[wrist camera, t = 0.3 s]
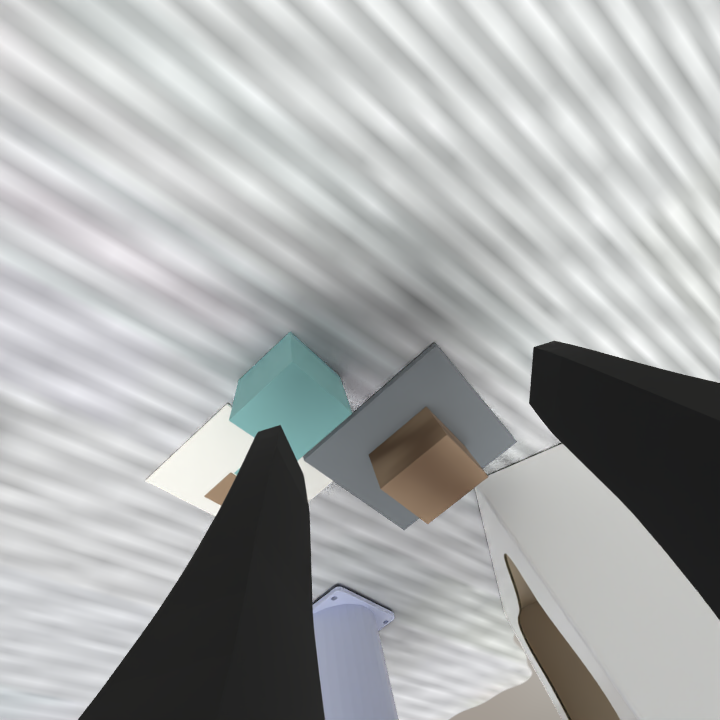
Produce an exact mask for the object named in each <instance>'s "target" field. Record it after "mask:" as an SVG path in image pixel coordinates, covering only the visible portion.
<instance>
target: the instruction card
mask: <svg viewBox="0 0 720 720" xmlns="http://www.w3.org/2000/svg"><path fill="white" fill-rule="evenodd" d="M231 410H232V406H231V405H229V404H228V403H227V404H226V405H225V406H224V407H223V408H222V409H221V410H220V411H219V412H217V413H216V414H215V415H214V416H213V417H212V418H211V419H210V420H209V421H208V422H207V423H206V424H205V425H204V426H203V427H201V428H200V429H199V430H198V431H197V432H196V433H195V434H194V435H193V436H192V437H191V438H190V439H189V440H188V441H186V442H185V443H184V444H183V445H182V446H181V447H180V448H179V449H178V450H177V451H176V452H175V453H174V454H173V455H172V456H170V457H169V458H168V459H167V460H166V461H165V462H164V463H163V464H162V465H161V466H160V467H159V468H158V469H157V470H156V471H154V472H153V473H152V474H151V475H150V476H149V477H148V478H147V479H146V482H148V483H150V484H152V485H154V486H156V487H158V488H160V489H162V490H164V491H166V492H168V493H170V494H172V495H174V496H176V497H178V498H180V499H182V500H184V501H186V502H188V503H190V504H192V505H194V506H196V507H198V508H200V509H202V510H204V511H206V512H208V513H210V514H212V515H214V516H215V517H216V515H217V513H218V511H219V509H220V507H221V505H222V503H223V501H224V499H225V498H226V496H227V494H228V492H229V490H230V488H231V486H232V484H233V482H234V480H235V478H236V476H237V474H238V472H239V470H240V467H241V465H242V463H243V461H244V459H245V457H246V455H247V453H248V451H249V448H250V446H251V444H252V442H253V440H254V437H253V436H251V435H250V434H248V433H247V432H245V431H244V430H242V429H241V428H239V427H238V426H236V425H235V424H233V423H232V422H230V421H229V418H230V414H231ZM298 463H299V466H300V468H301V470H302V472H303V474H304V479H305V485H306V492H307V499H308V502H309V501H310V500H312V499H313V498H314V497H315V496H316V495H318V494H319V493H320V492H321V491H322V490H323V489H325V488H326V487H327V486H328V485H329V484H331V483H332V482H333V480H331V479H330V478H328V477H327V476H325V475H324V474H322V473H321V472H320V471H318V470H317V469H315V468H314V467H312V466H311V465H309V464H308V463H307V462H305V461H304V458H303V457H301V458H300V459H299V460H298Z"/></svg>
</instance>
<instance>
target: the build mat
mask: <svg viewBox="0 0 720 720" xmlns="http://www.w3.org/2000/svg"><path fill="white" fill-rule="evenodd" d="M425 407H427V408H428V409H429V410H430V411H431V412H432V413H433V414H434V415H435V416H436V417H437V418H438V419H439V420H440V421H441V422H442V423H443V424H444V425H445V426H446V427H447V428H448V429H449V430H450V431H451V432H452V433H453V434H454V435H455V436H456V437H457V439H458V440H459V441H460V442H461V443H462V444H463V445H464V446H465V447H466V448H467V449H468V451H469V452H470V453H471V455H472V456H473V457H474V459H475V460H476V461H477V462H478V464H479V465H480V466H481V468H482V469H483V468H484V467H485V466H487V465H488V464H489V463H490V462H492V461H493V460H494V459H496V458H497V457H498V456H499V455H501V454H502V453H503V452H504V451H506V450H507V449H508V448H510V447H511V446H512V445H513V444H515V443H516V442H517V441H516V440H515V439H514V437H513V436H512V435H511V434H510V433H509V431H508V430H507V429H506V428H505V427H504V425H503V424H502V423H501V422H500V420H499V419H498V418H497V417H496V416H495V414H494V413H493V412H492V411H491V410H490V408H489V407H488V406H487V405H486V404H485V402H484V401H483V400H482V399H481V397H480V396H479V395H478V394H477V393H476V391H475V390H474V389H473V388H472V387H471V385H470V384H469V383H468V382H467V381H466V379H465V378H464V377H463V376H462V374H461V373H460V372H459V371H458V370H457V368H456V367H455V366H454V365H453V364H452V362H451V361H450V360H449V359H448V358H447V356H446V355H445V354H444V353H443V351H442V350H441V349H440V348H439V347H438V345H437V344H435V343H433V344H432V345H431V346H430V347H429V348H427V349H426V350H425V351H424V352H423V353H422V354H421V355H419V356H418V357H417V358H416V359H415V360H414V361H412V362H411V363H410V364H409V365H408V366H407V367H406V368H404V369H403V370H402V371H401V372H400V373H399V374H397V375H396V376H395V377H394V378H393V379H392V380H391V381H389V382H388V383H387V384H386V385H385V386H384V387H383V388H381V389H380V390H379V391H378V392H377V393H376V394H374V395H373V396H372V397H371V398H370V399H369V400H368V401H366V402H365V403H364V404H363V405H362V406H361V407H360V408H358V409H357V410H356V411H355V412H354V413H353V414H351V415H350V416H349V417H348V418H347V419H346V420H345V421H343V422H342V423H341V424H340V425H339V426H338V427H337V428H335V429H334V430H333V431H332V432H331V433H330V434H328V435H327V436H326V437H325V438H324V439H323V440H322V441H320V442H319V443H318V444H317V445H316V446H315V447H313V448H312V449H311V450H310V451H309V452H308V453H307V454H305V455H304V456H303V458H304V461H305V462H307V463H308V464H309V465H311V466H312V467H314V468H315V469H317V470H318V471H320V472H321V473H322V474H324V475H325V476H327V477H328V478H330V479H331V480H333V481H334V482H335V483H337V484H338V485H340V486H341V487H343V488H344V489H346V490H347V491H348V492H350V493H351V494H353V495H354V496H356V497H357V498H359V499H360V500H361V501H363V502H364V503H366V504H367V505H369V506H370V507H372V508H373V509H374V510H376V511H377V512H379V513H380V514H382V515H383V516H385V517H386V518H387V519H389V520H390V521H392V522H393V523H395V524H396V525H398V526H399V527H400V528H402V529H403V530H405V529H406V528H408V527H409V526H410V525H411V524H413V523H414V522H415V521H417V520H418V519H419V517H417V516H416V515H415V514H413V513H412V512H411V511H409V510H408V509H407V508H405V507H404V506H403V505H401V504H400V503H399V502H397V501H396V500H395V499H393V498H392V497H391V496H389V495H388V494H387V493H385V492H384V491H383V490H381V489H380V486H379V483H378V480H377V477H376V475H375V472H374V469H373V466H372V463H371V460H370V458H369V454H370V453H371V452H372V451H374V450H375V449H376V448H377V447H378V446H380V445H381V444H382V443H383V442H384V441H386V440H387V439H388V438H389V437H390V436H391V435H393V434H394V433H395V432H396V431H397V430H399V429H400V428H401V427H402V426H403V425H405V424H406V423H407V422H408V421H409V420H411V419H412V418H413V417H414V416H415V415H416V414H418V413H419V412H420V411H421V410H422V409H424V408H425Z"/></svg>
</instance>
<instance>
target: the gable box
mask: <svg viewBox="0 0 720 720" xmlns="http://www.w3.org/2000/svg"><path fill="white" fill-rule="evenodd" d="M475 491H476V496H477V500H478V504H479V508H480V513H481V517H482V521H483V525H484V530H485V534H486V538H487V542H488V546H489V551H490V555H491V559H492V563H493V568H494V572H495V576H496V580H497V585H498V589H499V593H500V597H501V601H502V606H503V610H504V614H505V616H506V618H507V620H508V622H509V624H510V626H511V627H512V629H513V631H514V633H515V635H516V636H517V638H518V640H519V642H520V644H521V646H522V647H523V649H524V651H525V653H526V655H527V657H528V658H529V660H530V662H531V664H532V666H533V667H534V669H535V671H536V673H537V675H538V677H539V679H540V680H541V682H542V684H543V686H544V688H545V689H546V691H547V693H548V694H549V697H550V699H551V700H552V702H553V704H554V706H555V708H556V710H557V711H558V713H559V715H560V717H561V719H562V720H720V620H719V619H718V618H717V616H716V615H715V614H714V612H713V611H712V610H711V608H710V607H709V606H708V604H707V603H706V602H705V601H704V599H703V598H702V597H701V595H700V594H699V593H698V592H697V590H696V589H695V588H694V587H693V585H692V584H691V583H690V582H689V580H688V579H687V578H686V577H685V575H684V574H683V573H682V572H681V570H680V569H679V568H678V567H677V566H676V564H675V563H674V562H673V561H672V559H671V558H670V557H669V556H668V554H667V553H666V552H665V551H664V550H663V548H662V547H661V546H660V545H659V544H658V543H657V541H656V540H655V539H654V538H653V537H652V536H651V534H650V533H649V532H648V531H647V530H646V528H645V527H644V526H643V525H642V524H641V523H640V521H639V520H638V519H637V518H636V517H635V516H634V514H633V513H632V512H631V511H630V510H629V509H628V508H627V507H626V506H625V505H624V504H623V503H622V502H621V501H620V500H619V499H618V498H617V497H616V496H615V495H614V494H613V493H612V492H611V491H610V490H609V489H608V488H607V487H606V486H605V485H604V484H603V483H602V482H601V481H600V480H599V479H598V478H597V477H596V476H595V475H594V474H593V473H592V472H591V471H590V470H589V469H588V468H587V467H586V466H585V465H584V464H583V463H582V462H581V461H580V460H579V459H578V458H577V457H576V456H575V455H574V454H573V453H572V452H571V451H570V450H569V449H568V448H567V447H566V446H565V445H564V444H563V443H562V444H560V445H558V446H555V447H553V448H551V449H548V450H546V451H544V452H541V453H539V454H537V455H534V456H532V457H530V458H527V459H525V460H523V461H520V462H518V463H516V464H513V465H511V466H509V467H506V468H504V469H502V470H500V471H497V472H495V473H493V474H490V475H488V478H486V479H485V480H484V481H482V482H481V483H480V484H479V485H477V486H476V487H475Z"/></svg>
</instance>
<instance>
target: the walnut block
mask: <svg viewBox="0 0 720 720" xmlns="http://www.w3.org/2000/svg"><path fill="white" fill-rule="evenodd" d="M369 458H370V460H371V463H372V466H373V469H374V472H375V475H376V477H377V480H378V483H379V486H380V489H381V490H383V491H384V492H385V493H387V494H388V495H389V496H391V497H392V498H393V499H395V500H396V501H397V502H399V503H400V504H401V505H403V506H404V507H405V508H407V509H408V510H409V511H411V512H412V513H413V514H415V515H416V516H417V517H419V518H420V519H421V520H423V521H424V522H425V523H427V524H429V523H430V522H431V521H432V520H434V519H435V518H436V517H438V516H439V515H440V514H441V513H443V512H444V511H445V510H447V509H448V508H449V507H450V506H452V505H453V504H454V503H455V502H457V501H458V500H459V499H461V498H462V497H463V496H464V495H466V494H467V493H468V492H470V491H471V490H472V489H473V488H475V487H476V486H477V485H479V484H480V483H481V482H482V481H484V480H485V479H486V478H488V475H487V474H486V473H485V472H484V470H483V469H482V468H481V466H480V465H479V464H478V462H477V461H476V460H475V459H474V457H473V456H472V455H471V453H470V452H469V451H468V449H467V448H466V447H465V446H464V445H463V444H462V443H461V442H460V441H459V440H458V439H457V437H456V436H455V435H454V434H453V433H452V432H451V431H450V430H449V429H448V428H447V427H446V426H445V425H444V424H443V423H442V422H441V421H440V420H439V419H438V418H437V417H436V416H435V415H434V414H433V413H432V412H431V411H430V410H429V409H428V408H427V407H425V408H424V409H422V410H421V411H420V412H419V413H418V414H416V415H415V416H414V417H413V418H412V419H411V420H409V421H408V422H407V423H406V424H405V425H403V426H402V427H401V428H400V429H399V430H397V431H396V432H395V433H394V434H393V435H391V436H390V437H389V438H388V439H387V440H386V441H384V442H383V443H382V444H381V445H380V446H378V447H377V448H376V449H375V450H374V451H372V452H371V453H370V454H369Z"/></svg>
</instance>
